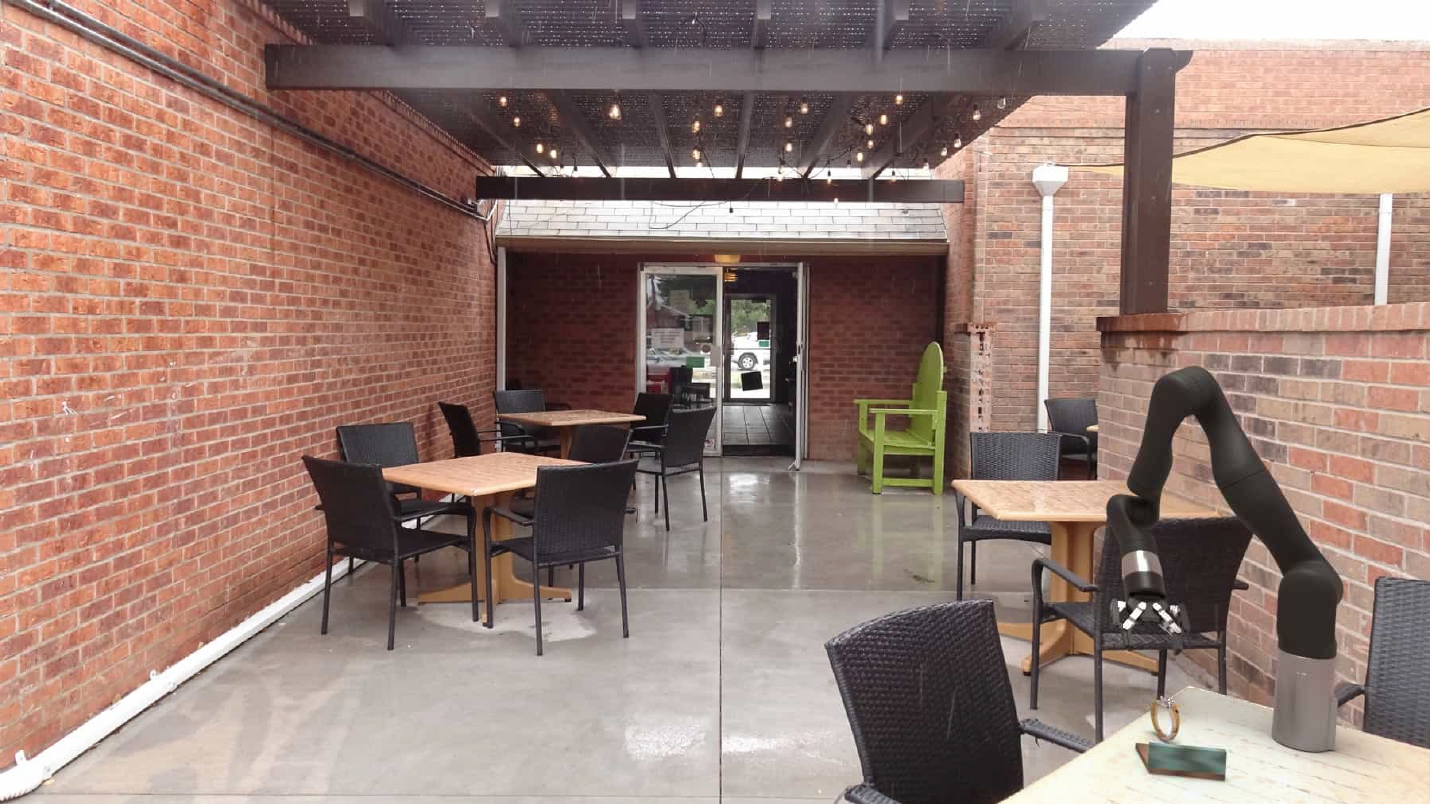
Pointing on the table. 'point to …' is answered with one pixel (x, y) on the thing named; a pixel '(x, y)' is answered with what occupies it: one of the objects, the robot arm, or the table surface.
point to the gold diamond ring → (1174, 715)
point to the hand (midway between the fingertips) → (1153, 651)
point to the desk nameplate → (1183, 760)
